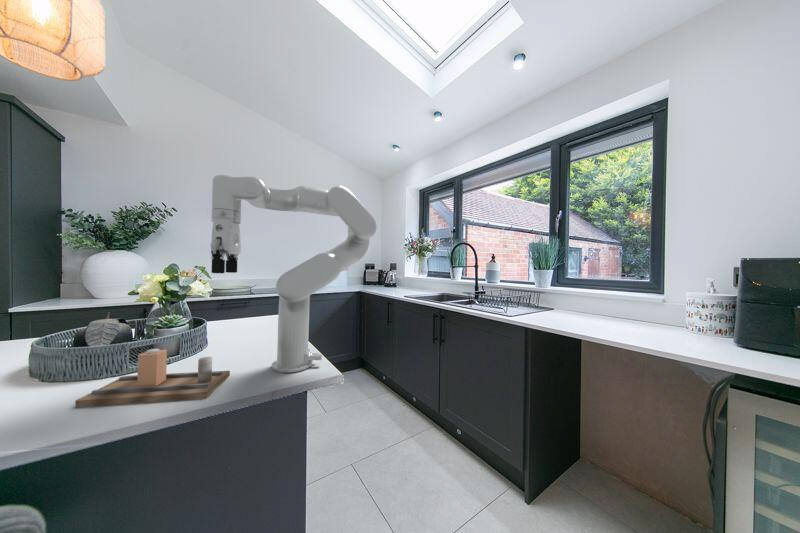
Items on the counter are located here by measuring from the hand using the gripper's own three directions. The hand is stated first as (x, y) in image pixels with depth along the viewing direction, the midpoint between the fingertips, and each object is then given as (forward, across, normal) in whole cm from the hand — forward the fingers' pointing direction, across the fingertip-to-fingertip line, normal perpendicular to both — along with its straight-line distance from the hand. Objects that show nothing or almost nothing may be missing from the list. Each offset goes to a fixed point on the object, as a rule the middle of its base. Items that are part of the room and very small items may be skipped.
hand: (225, 272), depth 83 cm
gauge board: (+30, -11, +10) cm, 34 cm away
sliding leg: (+28, -11, +12) cm, 33 cm away
